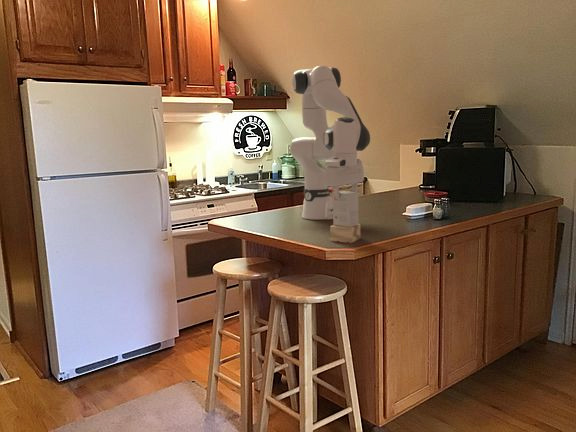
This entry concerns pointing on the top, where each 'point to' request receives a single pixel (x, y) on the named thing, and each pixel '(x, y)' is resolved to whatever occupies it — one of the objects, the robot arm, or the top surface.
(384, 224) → the top surface
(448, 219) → the top surface
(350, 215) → the small box
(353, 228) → the maple block
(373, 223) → the top surface
